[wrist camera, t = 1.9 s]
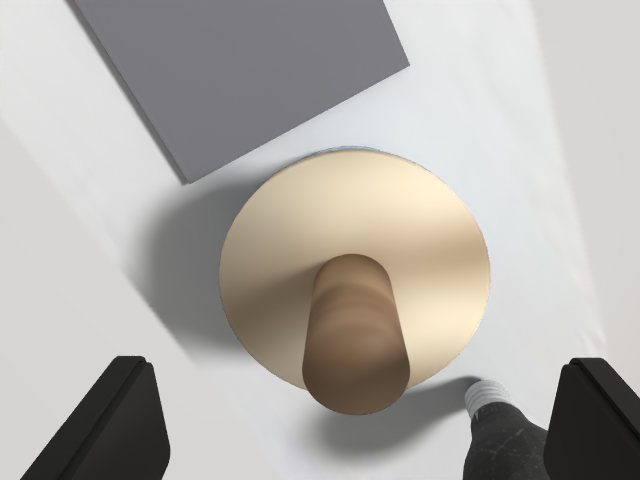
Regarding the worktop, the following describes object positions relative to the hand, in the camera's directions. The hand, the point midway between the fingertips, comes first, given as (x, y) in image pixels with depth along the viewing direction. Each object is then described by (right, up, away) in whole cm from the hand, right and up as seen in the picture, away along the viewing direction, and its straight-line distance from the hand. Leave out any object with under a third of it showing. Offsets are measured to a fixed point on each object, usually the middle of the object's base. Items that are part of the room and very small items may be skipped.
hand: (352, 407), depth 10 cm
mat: (-5, +14, +9) cm, 18 cm away
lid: (+1, +2, +8) cm, 8 cm away
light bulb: (+9, -5, +16) cm, 19 cm away
